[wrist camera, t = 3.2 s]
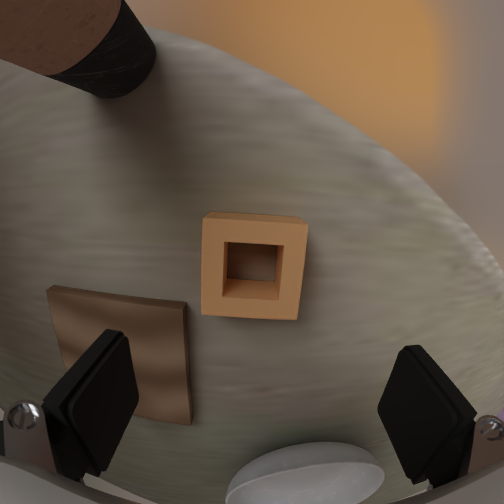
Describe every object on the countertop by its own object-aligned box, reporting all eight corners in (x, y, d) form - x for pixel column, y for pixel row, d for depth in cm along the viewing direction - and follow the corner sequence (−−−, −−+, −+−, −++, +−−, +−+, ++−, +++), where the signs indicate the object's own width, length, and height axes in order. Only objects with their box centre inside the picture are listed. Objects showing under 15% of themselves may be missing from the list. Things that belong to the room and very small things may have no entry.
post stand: (54, 285, 24) (-18, 333, 13) (186, 302, 24) (144, 387, 13) (82, 392, 28) (42, 452, 16) (193, 416, 28) (175, 497, 17)
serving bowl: (213, 483, 32) (210, 517, 26) (254, 409, 27) (254, 457, 21) (330, 492, 34) (336, 521, 27) (398, 422, 29) (416, 456, 22)
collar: (211, 211, 22) (202, 217, 18) (298, 217, 22) (308, 224, 18) (208, 293, 24) (201, 314, 20) (290, 298, 24) (296, 319, 20)
